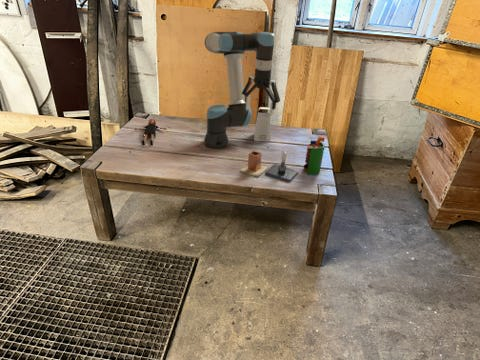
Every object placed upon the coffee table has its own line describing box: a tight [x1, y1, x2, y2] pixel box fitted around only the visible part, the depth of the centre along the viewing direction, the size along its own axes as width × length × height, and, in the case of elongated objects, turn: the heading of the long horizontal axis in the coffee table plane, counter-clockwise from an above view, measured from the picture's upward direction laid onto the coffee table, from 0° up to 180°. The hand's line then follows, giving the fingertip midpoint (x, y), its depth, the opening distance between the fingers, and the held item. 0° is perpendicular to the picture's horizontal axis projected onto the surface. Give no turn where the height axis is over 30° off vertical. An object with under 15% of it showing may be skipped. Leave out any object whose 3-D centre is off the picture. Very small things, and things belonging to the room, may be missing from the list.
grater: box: [253, 106, 272, 143], centre depth 204 cm, size 10×10×20 cm
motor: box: [302, 135, 326, 176], centre depth 170 cm, size 10×9×20 cm
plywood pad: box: [239, 163, 269, 178], centre depth 172 cm, size 11×11×1 cm
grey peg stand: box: [264, 151, 299, 183], centre depth 167 cm, size 14×11×12 cm
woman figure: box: [133, 118, 167, 146], centre depth 205 cm, size 20×6×35 cm
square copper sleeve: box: [247, 150, 263, 172], centre depth 169 cm, size 5×5×9 cm
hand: (259, 112), depth 161 cm, fingers open, 13 cm apart
